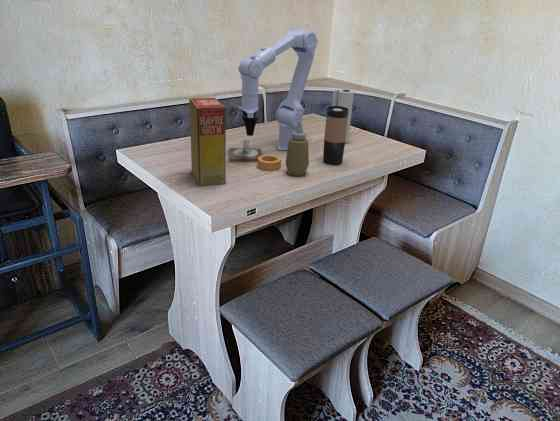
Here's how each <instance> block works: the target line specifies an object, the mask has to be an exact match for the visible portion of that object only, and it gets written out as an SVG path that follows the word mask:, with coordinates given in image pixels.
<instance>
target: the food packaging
mask: <svg viewBox="0 0 560 421" xmlns="http://www.w3.org/2000/svg"><path fill="white" fill-rule="evenodd" d="M188 101H189V102H188V103H189V129H190V130H189V133H190V153H191V155H190V156H191V157H190V158H191V159H190V160H191V173H192V176H193V177H194V179H195V181H196V184H197V185H198V187H206V186H215V185H224V184H227V181H226V180H227V178H226V177H227V176H226V147H227V146H226V143H227V142H226V141H227V140H226V127H227V126H226V125H227V118H226V117H227V116H226V115H227V113H226V112H227V110H226V109H227V108H226V106H225V105H224V104H222V103H221V101H220V100H218V99H217V97H191V98H189V99H188Z"/></svg>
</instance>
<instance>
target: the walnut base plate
mask: <svg viewBox="0 0 560 421" xmlns="http://www.w3.org/2000/svg"><path fill="white" fill-rule="evenodd" d="M228 150H229V162H234V163H236V162H238V163H239V162H242V163H244V162H245V163H246V162H254V163H255V162H256V163H258V157H260V156H262V155H263V153H262V148H260V147H255V148H254V147H249V153H248V154H244V153H242V147H241V148H240V147H229V148H228Z"/></svg>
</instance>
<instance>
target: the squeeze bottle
mask: <svg viewBox="0 0 560 421" xmlns="http://www.w3.org/2000/svg"><path fill="white" fill-rule="evenodd" d="M302 122H303V121H302ZM302 122H298V124H297V127H296V131H294V132H292V138H291V139H289V143H288V149H287V150H286V151H287V152H286V157H285V166H286V170H287V172H288V174H289V175H291V176H294V177H295V176H296V177H298V176H299V177H300V176H303V175H305V174H306V172H307V170H308V167H309V165H310V161H309V160H310V158H309V155H310V154H309V140H308V139H307V138H306V137H307V133H306V132H305V131H304V128H303V129H302V126H303V123H302Z"/></svg>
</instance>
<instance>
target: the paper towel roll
mask: <svg viewBox="0 0 560 421" xmlns="http://www.w3.org/2000/svg"><path fill="white" fill-rule="evenodd" d="M332 92H333V94H332V104H331V106H342V107H346V108H348V120H347V129H346V139H345V145H346V144H348V143H349V140H350V130H351V122H352V111H353V103H354V95H355V94H354V93H355V91H354V90H352V89H342V88H341V89H337V90H333V91H332Z"/></svg>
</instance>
